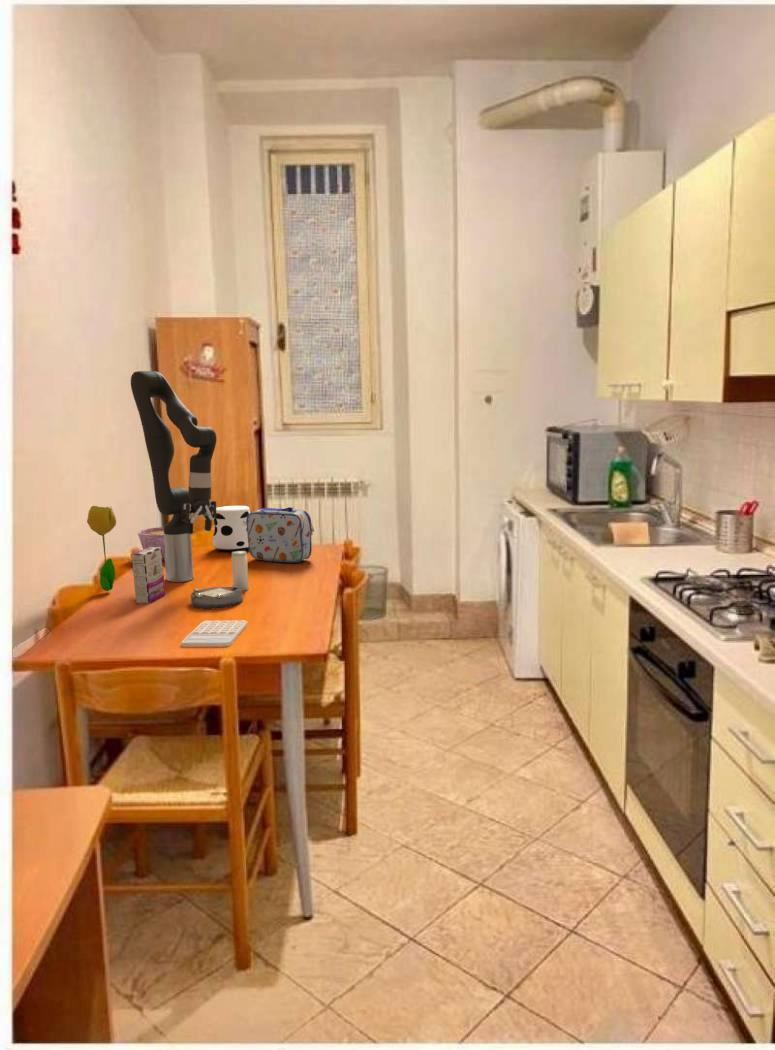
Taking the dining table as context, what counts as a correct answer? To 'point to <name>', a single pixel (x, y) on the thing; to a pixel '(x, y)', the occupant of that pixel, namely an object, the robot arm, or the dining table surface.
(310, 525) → the lunch box
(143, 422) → the robot arm
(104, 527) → the flower
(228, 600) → the base plate
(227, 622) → the calculator
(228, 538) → the milk container
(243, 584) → the column
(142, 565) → the candy bar box
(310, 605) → the dining table surface
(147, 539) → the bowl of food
